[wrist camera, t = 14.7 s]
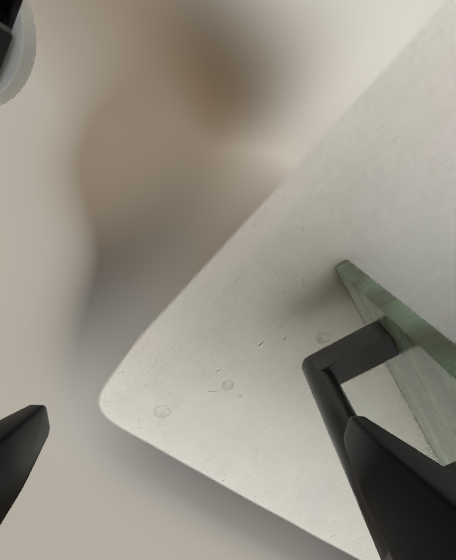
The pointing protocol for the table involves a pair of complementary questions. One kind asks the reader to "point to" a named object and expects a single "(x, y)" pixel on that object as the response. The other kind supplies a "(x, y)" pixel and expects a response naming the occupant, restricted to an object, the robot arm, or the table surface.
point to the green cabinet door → (403, 366)
